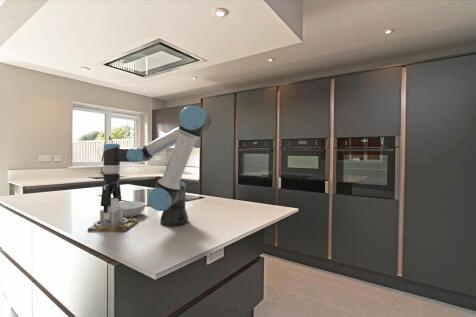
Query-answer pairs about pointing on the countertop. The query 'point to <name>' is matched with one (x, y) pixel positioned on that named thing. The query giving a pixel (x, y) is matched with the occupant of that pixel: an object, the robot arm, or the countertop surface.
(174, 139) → the robot arm
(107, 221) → the container
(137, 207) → the serving bowl
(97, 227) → the gear board
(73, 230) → the countertop surface
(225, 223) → the countertop surface
